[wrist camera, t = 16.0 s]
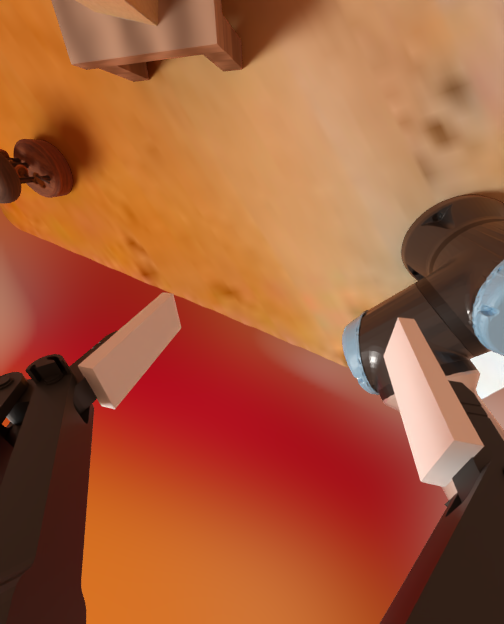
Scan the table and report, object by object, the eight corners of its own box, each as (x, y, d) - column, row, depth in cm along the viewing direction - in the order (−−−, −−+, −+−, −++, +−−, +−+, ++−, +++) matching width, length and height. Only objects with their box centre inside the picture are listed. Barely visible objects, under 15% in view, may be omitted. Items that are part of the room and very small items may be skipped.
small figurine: (29, 185, 56) (-97, 187, 39) (21, 129, 50) (-131, 102, 33) (88, 210, 55) (-12, 223, 38) (86, 157, 50) (-32, 144, 33)
